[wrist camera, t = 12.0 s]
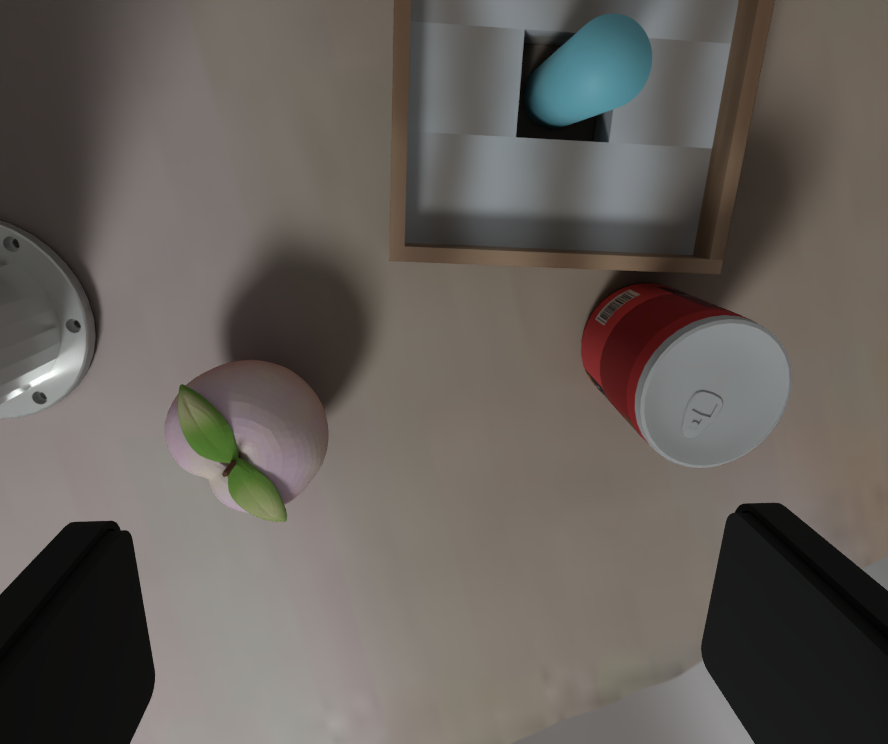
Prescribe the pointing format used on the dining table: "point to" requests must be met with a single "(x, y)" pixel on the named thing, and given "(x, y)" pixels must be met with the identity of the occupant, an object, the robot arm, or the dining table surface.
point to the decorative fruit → (249, 435)
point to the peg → (590, 73)
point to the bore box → (565, 161)
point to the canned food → (686, 373)
